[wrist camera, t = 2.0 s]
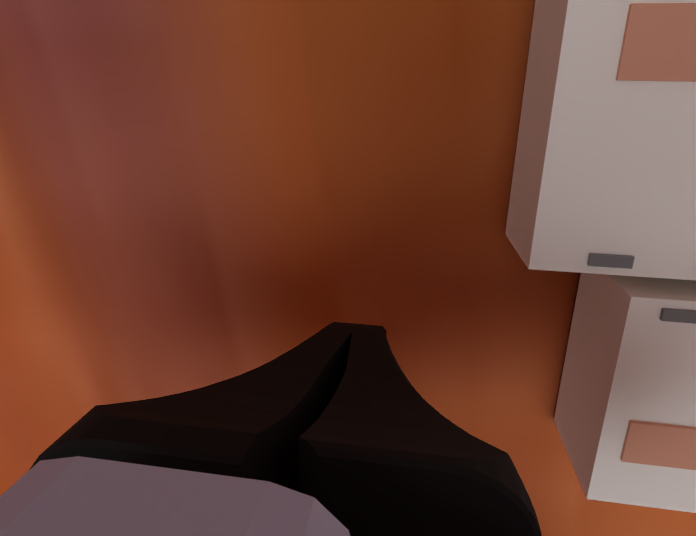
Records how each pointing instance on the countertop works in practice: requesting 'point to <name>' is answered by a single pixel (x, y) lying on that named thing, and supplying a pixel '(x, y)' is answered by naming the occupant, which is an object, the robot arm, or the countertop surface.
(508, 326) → the countertop surface
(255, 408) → the robot arm
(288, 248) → the countertop surface
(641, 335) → the stub
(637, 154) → the white striped box
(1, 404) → the countertop surface
